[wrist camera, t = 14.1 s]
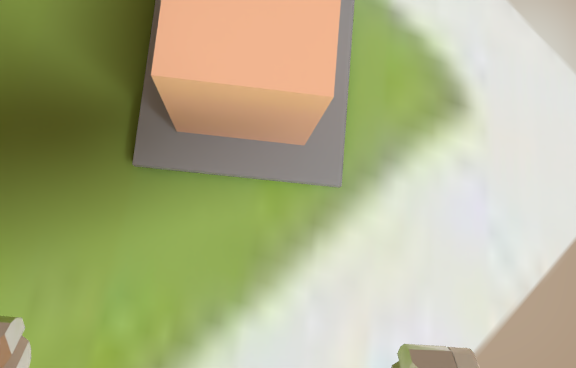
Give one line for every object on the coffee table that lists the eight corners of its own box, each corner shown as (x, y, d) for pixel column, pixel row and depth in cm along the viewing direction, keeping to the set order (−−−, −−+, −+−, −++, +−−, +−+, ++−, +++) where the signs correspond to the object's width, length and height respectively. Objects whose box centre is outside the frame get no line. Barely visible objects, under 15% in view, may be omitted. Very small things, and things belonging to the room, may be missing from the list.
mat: (134, 166, 26) (132, 164, 25) (161, -25, 27) (159, -31, 27) (339, 187, 27) (341, 186, 26) (352, 1, 28) (354, -3, 28)
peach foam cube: (176, 131, 26) (150, 75, 18) (191, 11, 27) (174, -91, 19) (304, 145, 26) (333, 97, 18) (314, 27, 27) (345, -66, 20)
